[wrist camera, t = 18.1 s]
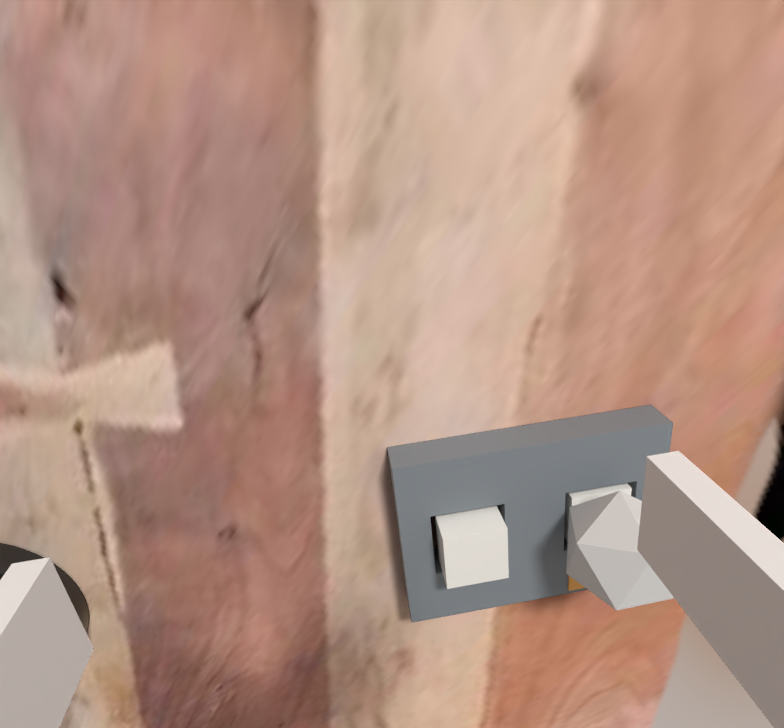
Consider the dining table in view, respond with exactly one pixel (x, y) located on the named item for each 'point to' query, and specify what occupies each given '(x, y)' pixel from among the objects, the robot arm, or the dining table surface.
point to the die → (611, 552)
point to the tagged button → (590, 498)
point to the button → (472, 546)
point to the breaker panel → (514, 498)
